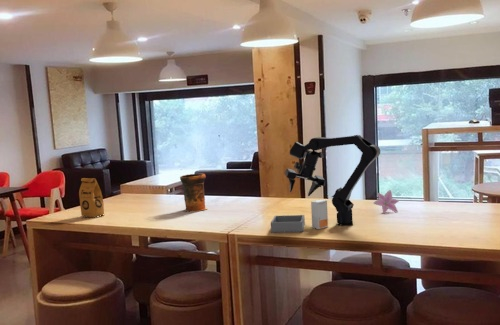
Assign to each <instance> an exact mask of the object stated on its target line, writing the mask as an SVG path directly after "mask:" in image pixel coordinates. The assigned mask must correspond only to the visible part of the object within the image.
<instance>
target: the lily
mask: <svg viewBox="0 0 500 325" xmlns="http://www.w3.org/2000/svg"><path fill="white" fill-rule="evenodd" d="M376 195H377V197H378V198H379V199H376V200H375V201H374V202H373V205H376V206H380V207H381V210H382V213H383V214H386V213H387V211H388V210H390V211H392V212H395V213H398V209H397V206H396V204H397V203H399V200H398V199H395V198H393V192H392V190H391V189H389V190H388V191H386V192H385V194H382V193H380V192H377V194H376Z"/></svg>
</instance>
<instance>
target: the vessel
mask: <svg viewBox="0 0 500 325" xmlns="http://www.w3.org/2000/svg"><path fill="white" fill-rule="evenodd" d="M206 177H207V176H206V174H205V173H190V174H185V175H181V176H179V179H180V182H181V184H182V189H183V198H184V204H185V209H184V210H183V212H186V211H190V213H196V212H200V211H203V210H208V207H206V202H205V201H206V199H205V186H204V184H205V181H206Z"/></svg>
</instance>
